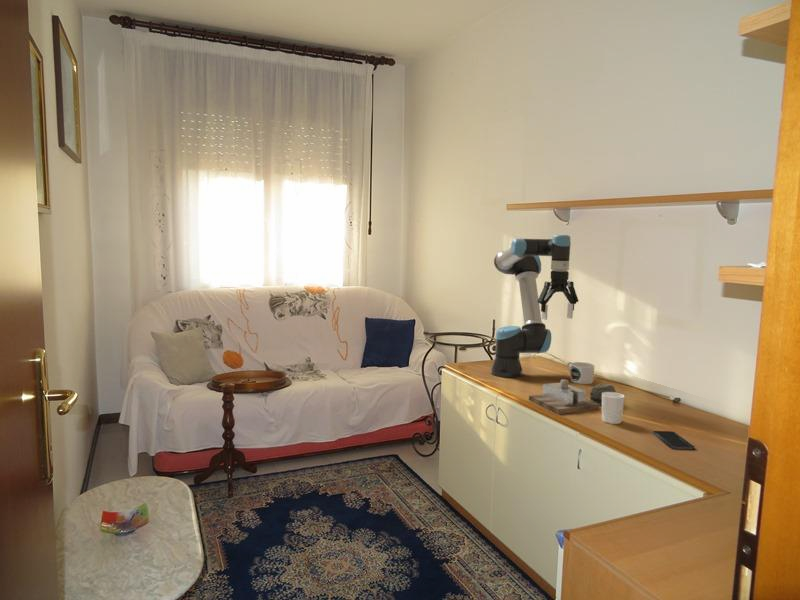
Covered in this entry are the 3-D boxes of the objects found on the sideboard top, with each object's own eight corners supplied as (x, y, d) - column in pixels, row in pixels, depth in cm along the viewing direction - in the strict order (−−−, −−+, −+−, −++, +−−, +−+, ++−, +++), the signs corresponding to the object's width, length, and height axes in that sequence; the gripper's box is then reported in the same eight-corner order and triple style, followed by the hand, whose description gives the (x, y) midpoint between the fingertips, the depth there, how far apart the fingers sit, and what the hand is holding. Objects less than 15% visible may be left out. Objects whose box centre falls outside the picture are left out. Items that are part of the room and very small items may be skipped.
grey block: (542, 396, 229) (543, 384, 228) (562, 393, 233) (562, 382, 232) (564, 405, 216) (565, 393, 216) (585, 403, 220) (585, 391, 219)
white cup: (596, 420, 206) (597, 394, 205) (607, 416, 211) (608, 390, 210) (615, 426, 200) (617, 399, 199) (626, 421, 205) (628, 395, 204)
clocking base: (528, 400, 230) (529, 376, 228) (567, 395, 237) (569, 373, 236) (558, 414, 212) (559, 388, 211) (599, 409, 220) (600, 384, 219)
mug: (597, 382, 261) (599, 365, 260) (585, 385, 254) (586, 368, 253) (573, 376, 271) (574, 360, 270) (560, 379, 265) (561, 362, 264)
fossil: (586, 403, 226) (589, 379, 229) (590, 408, 233) (593, 385, 236) (614, 406, 220) (617, 382, 223) (618, 412, 227) (620, 388, 231)
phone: (671, 447, 179) (651, 430, 194) (671, 450, 179) (651, 433, 194) (696, 447, 179) (674, 431, 194) (696, 451, 179) (674, 434, 194)
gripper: (541, 271, 233) (538, 321, 236) (588, 270, 243) (585, 318, 245) (530, 270, 240) (528, 318, 243) (577, 269, 250) (574, 316, 252)
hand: (557, 318), depth 244 cm, fingers open, 13 cm apart
